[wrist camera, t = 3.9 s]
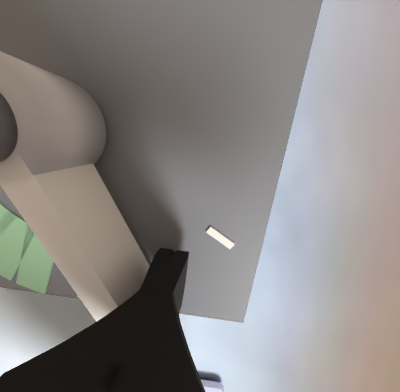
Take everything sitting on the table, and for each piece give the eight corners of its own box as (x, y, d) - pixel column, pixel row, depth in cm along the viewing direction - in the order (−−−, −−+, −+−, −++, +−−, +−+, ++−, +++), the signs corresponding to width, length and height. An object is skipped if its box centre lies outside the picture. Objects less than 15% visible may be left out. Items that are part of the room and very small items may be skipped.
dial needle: (0, 101, 8) (-168, 71, 5) (74, 59, 8) (-53, -16, 4) (136, 319, 11) (101, 403, 8) (197, 302, 11) (190, 385, 7)
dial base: (240, 308, 12) (243, 324, 11) (-80, 261, 13) (-106, 272, 12) (327, -63, 7) (347, -99, 6) (-222, -116, 8) (-292, -157, 7)
